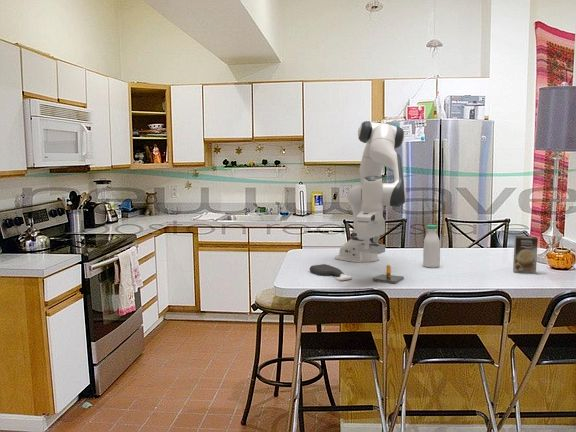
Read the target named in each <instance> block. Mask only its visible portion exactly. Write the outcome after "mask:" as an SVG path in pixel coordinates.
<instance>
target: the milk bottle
mask: <svg viewBox="0 0 576 432" xmlns="http://www.w3.org/2000/svg"><path fill="white" fill-rule="evenodd" d="M426 230H427V231H426V235H425V237H424V240H423V251H422V253H423V254H422V259H423V260H422V266H423V267H424V268H432V269H434V268H439V267H440V266H441V264H440V263H441V241H440V238H439V235H438V233H437V230H438V225H437V224H427V226H426Z"/></svg>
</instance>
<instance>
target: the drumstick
mask: <svg viewBox="0 0 576 432" xmlns="http://www.w3.org/2000/svg"><path fill="white" fill-rule="evenodd" d="M309 271H310V273H313V274H314V275H317V276H323V277H333V278H334V279H337V281H341V282H343V281H347V280H348V281H349V280H352V277H353V276H352V275H347V274H345V273H344V272H343V271H342V270H341V269H339V268H338V267H335V266H332V265H330V264H326V263H322V264H314V265H310V267H309Z"/></svg>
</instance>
